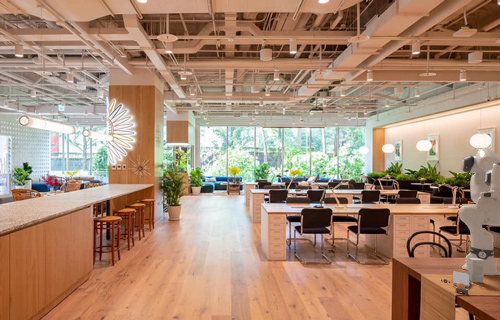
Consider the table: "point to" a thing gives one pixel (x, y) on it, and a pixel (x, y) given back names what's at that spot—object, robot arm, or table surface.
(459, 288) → the rail
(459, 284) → the ball
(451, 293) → the table surface
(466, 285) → the ramp
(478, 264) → the skincare box
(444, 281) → the stand
